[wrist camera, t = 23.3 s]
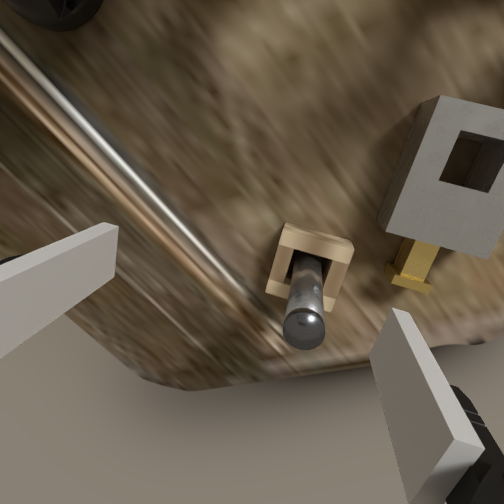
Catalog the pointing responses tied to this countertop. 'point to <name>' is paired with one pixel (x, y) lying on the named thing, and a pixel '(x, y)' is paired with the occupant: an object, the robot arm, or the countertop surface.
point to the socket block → (445, 194)
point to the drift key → (412, 265)
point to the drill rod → (305, 304)
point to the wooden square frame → (316, 244)
